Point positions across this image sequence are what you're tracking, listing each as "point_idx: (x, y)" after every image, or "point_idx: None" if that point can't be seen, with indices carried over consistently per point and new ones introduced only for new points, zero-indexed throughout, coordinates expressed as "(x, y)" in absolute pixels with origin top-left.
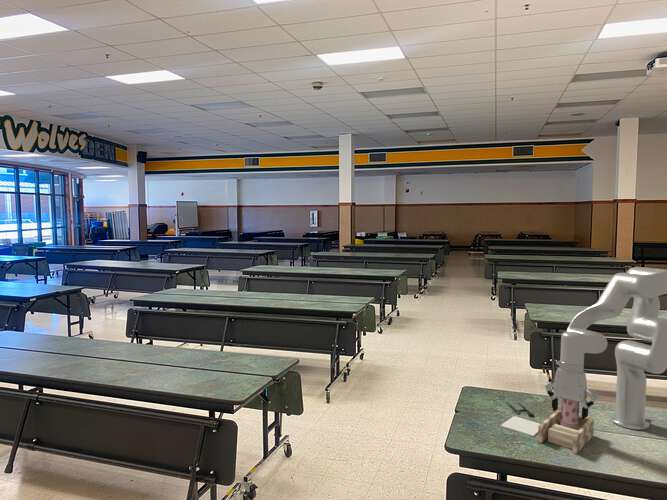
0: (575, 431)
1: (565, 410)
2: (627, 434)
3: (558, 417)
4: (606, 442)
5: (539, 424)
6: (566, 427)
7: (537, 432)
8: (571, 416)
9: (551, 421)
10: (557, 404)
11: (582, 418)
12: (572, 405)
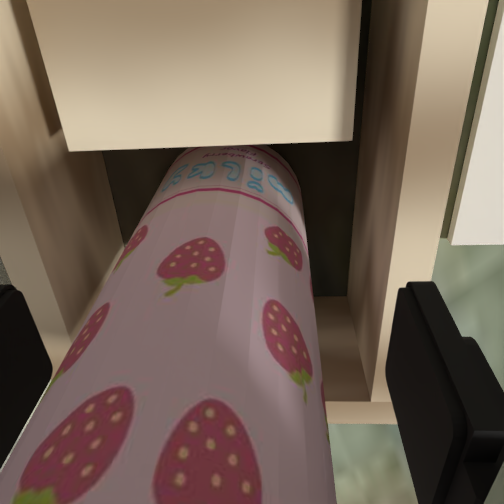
0: (70, 91)
1: (216, 295)
2: (17, 441)
3: (364, 337)
4: (8, 280)
5: (502, 223)
6: (199, 134)
7: (493, 37)
8: (139, 259)
9: (394, 152)
10: (403, 421)
11: (1, 286)
12: (58, 409)
